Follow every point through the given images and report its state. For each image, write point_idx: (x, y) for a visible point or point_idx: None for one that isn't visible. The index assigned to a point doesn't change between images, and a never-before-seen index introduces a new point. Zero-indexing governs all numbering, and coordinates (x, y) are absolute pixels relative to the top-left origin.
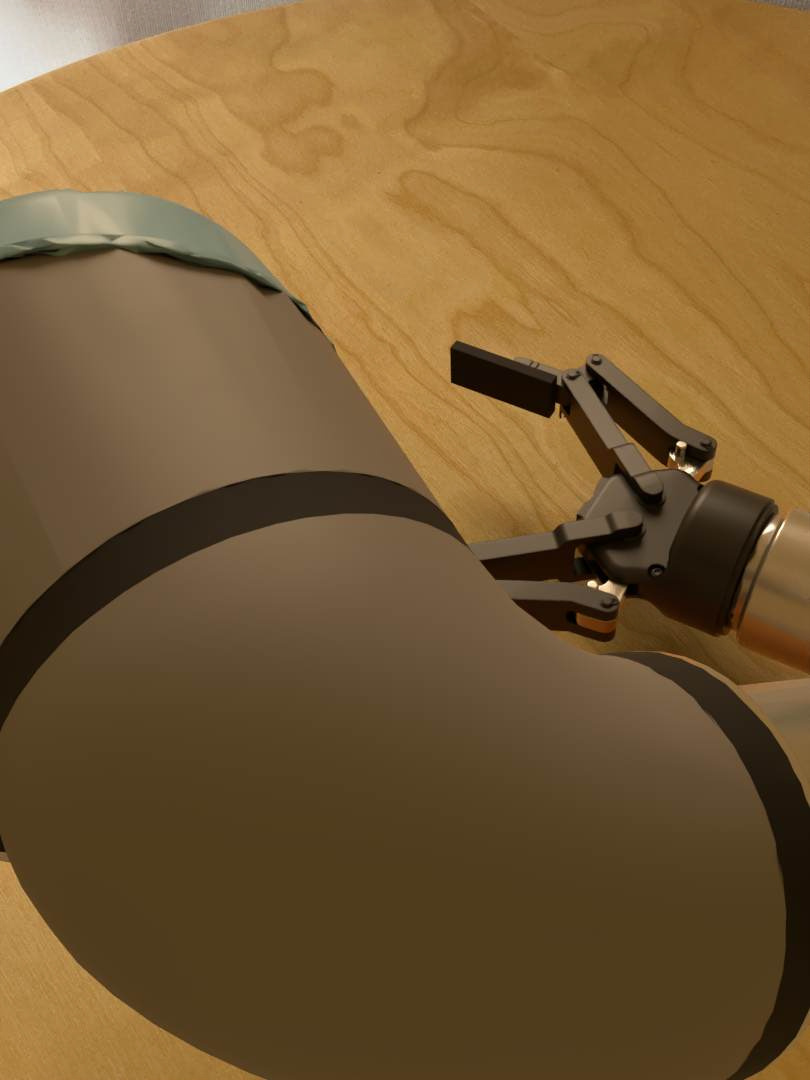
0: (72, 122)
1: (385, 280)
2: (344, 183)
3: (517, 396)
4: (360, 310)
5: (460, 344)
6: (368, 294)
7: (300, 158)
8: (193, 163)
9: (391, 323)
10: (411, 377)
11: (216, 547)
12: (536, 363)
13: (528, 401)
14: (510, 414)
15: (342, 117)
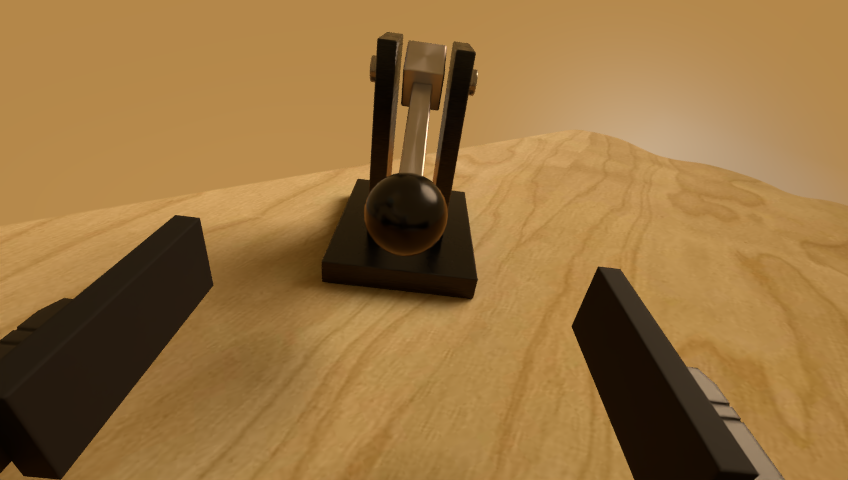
0: (589, 142)
1: (665, 277)
2: (708, 229)
3: (632, 426)
4: None
5: (618, 275)
6: (638, 272)
7: (692, 207)
8: (622, 175)
9: None
10: None
11: None
12: (732, 413)
13: (643, 455)
14: None
15: (751, 214)
